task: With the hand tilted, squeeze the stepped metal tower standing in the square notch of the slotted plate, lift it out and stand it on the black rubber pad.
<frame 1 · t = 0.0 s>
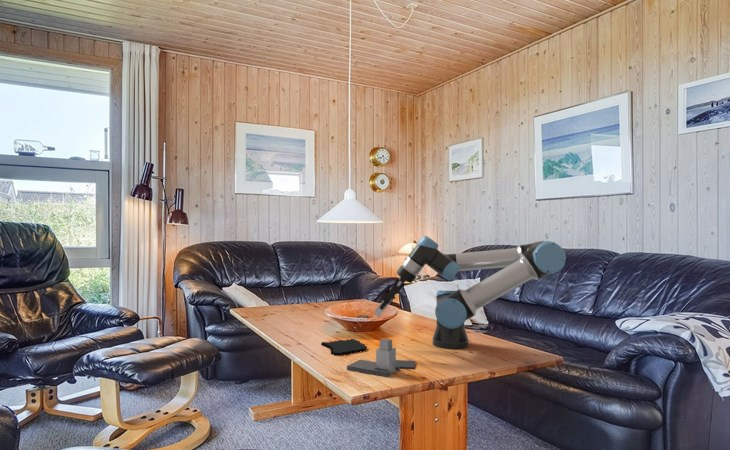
hand: (378, 312, 184), 15 cm above the table, tool tilted 35°, fingers open, 13 cm apart
decorative item: (342, 349, 187), on the table
slotted plate: (378, 370, 156), on the table
stepped metal tower: (386, 372, 154), on the table
pad: (403, 365, 162), on the table
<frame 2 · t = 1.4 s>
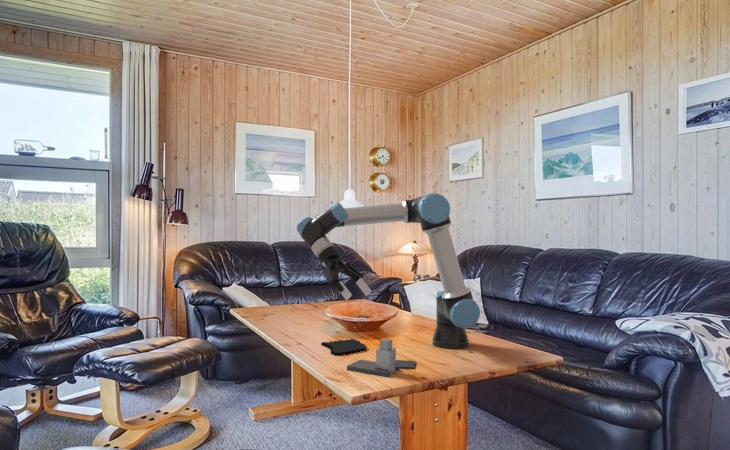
hand: (359, 295, 160), 25 cm above the table, tool tilted 45°, fingers open, 13 cm apart
nothing on the table moved.
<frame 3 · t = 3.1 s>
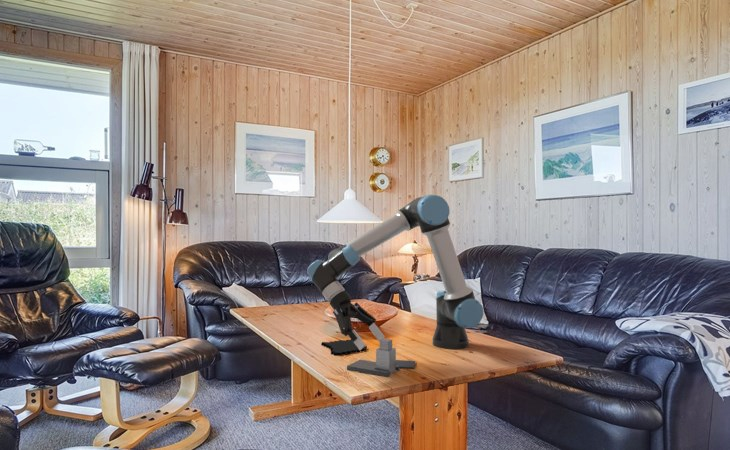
hand: (373, 343, 156), 9 cm above the table, tool tilted 45°, fingers open, 13 cm apart
nothing on the table moved.
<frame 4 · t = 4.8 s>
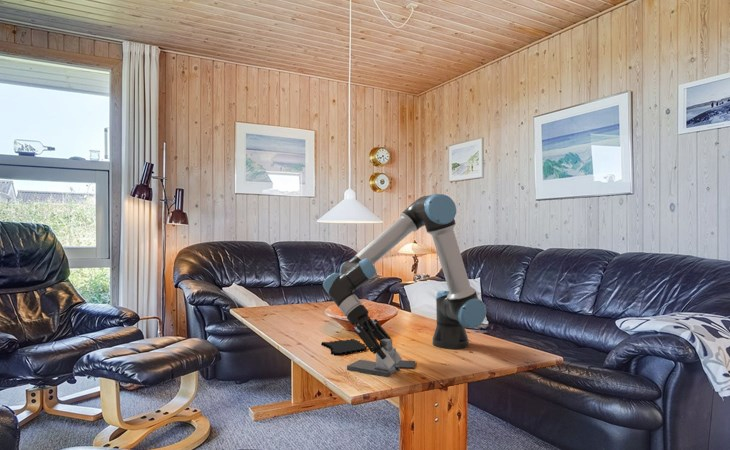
hand: (395, 363, 153), 4 cm above the table, tool tilted 45°, fingers closed on stepped metal tower, 5 cm apart
stepped metal tower: (386, 372, 154), on the table, touching gripper
everything else where it was.
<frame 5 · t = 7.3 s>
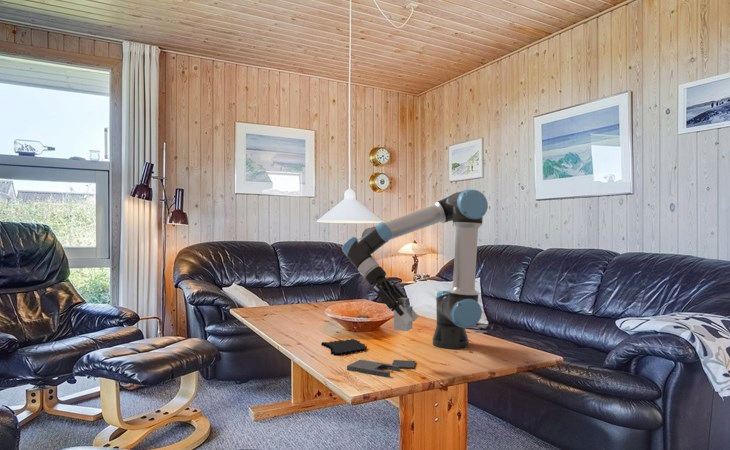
hand: (412, 320, 161), 17 cm above the table, tool tilted 45°, fingers closed on stepped metal tower, 5 cm apart
stepped metal tower: (403, 329, 163), point 13 cm above the table, touching gripper
everything else where it was.
when the fingers open (5 cm above the table, at t = 9.6 s): stepped metal tower drops 1 cm, resting on pad.
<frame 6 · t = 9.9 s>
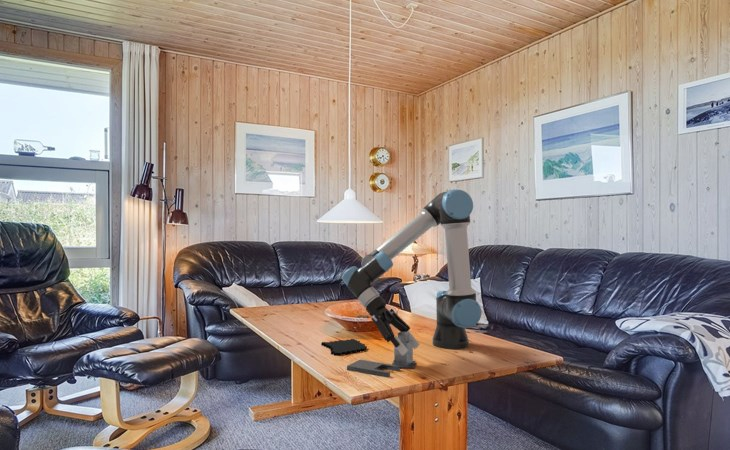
hand: (411, 349, 161), 6 cm above the table, tool tilted 45°, fingers open, 9 cm apart
stepped metal tower: (403, 363, 163), point 1 cm above the table, touching pad
everything else where it was.
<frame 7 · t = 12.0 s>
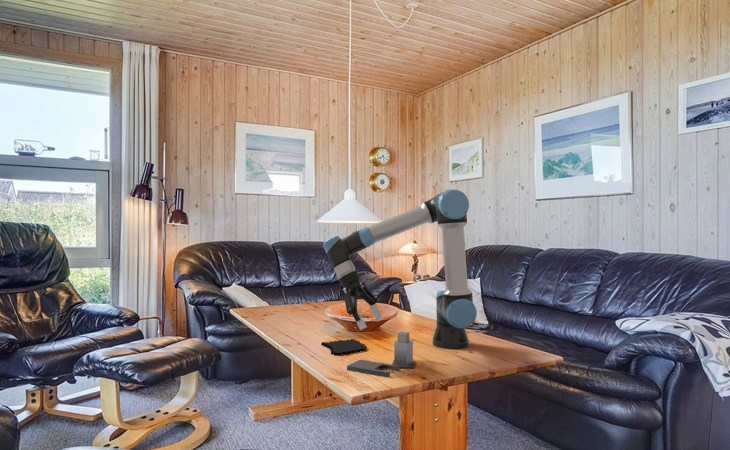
hand: (372, 324, 171), 13 cm above the table, tool tilted 30°, fingers open, 13 cm apart
nothing on the table moved.
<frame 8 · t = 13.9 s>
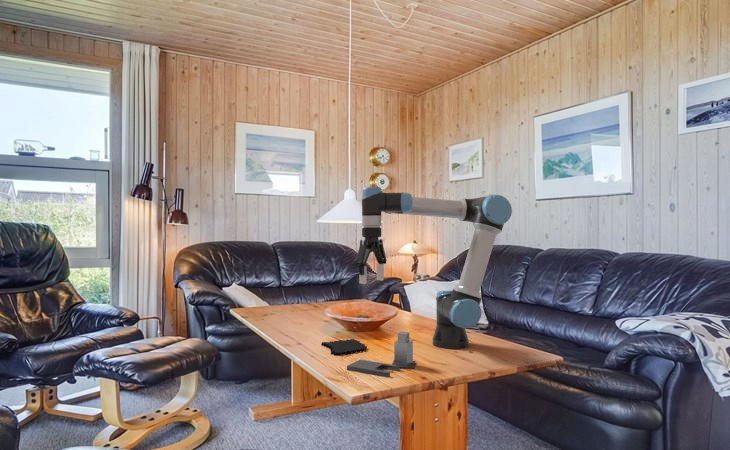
hand: (371, 282, 174), 29 cm above the table, tool pointing down, fingers open, 13 cm apart
nothing on the table moved.
at the end: stepped metal tower inside the target area (0.1 cm from its centre), point 0.6 cm above the table; stepped metal tower tilted 0°; the gripper is holding nothing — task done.
